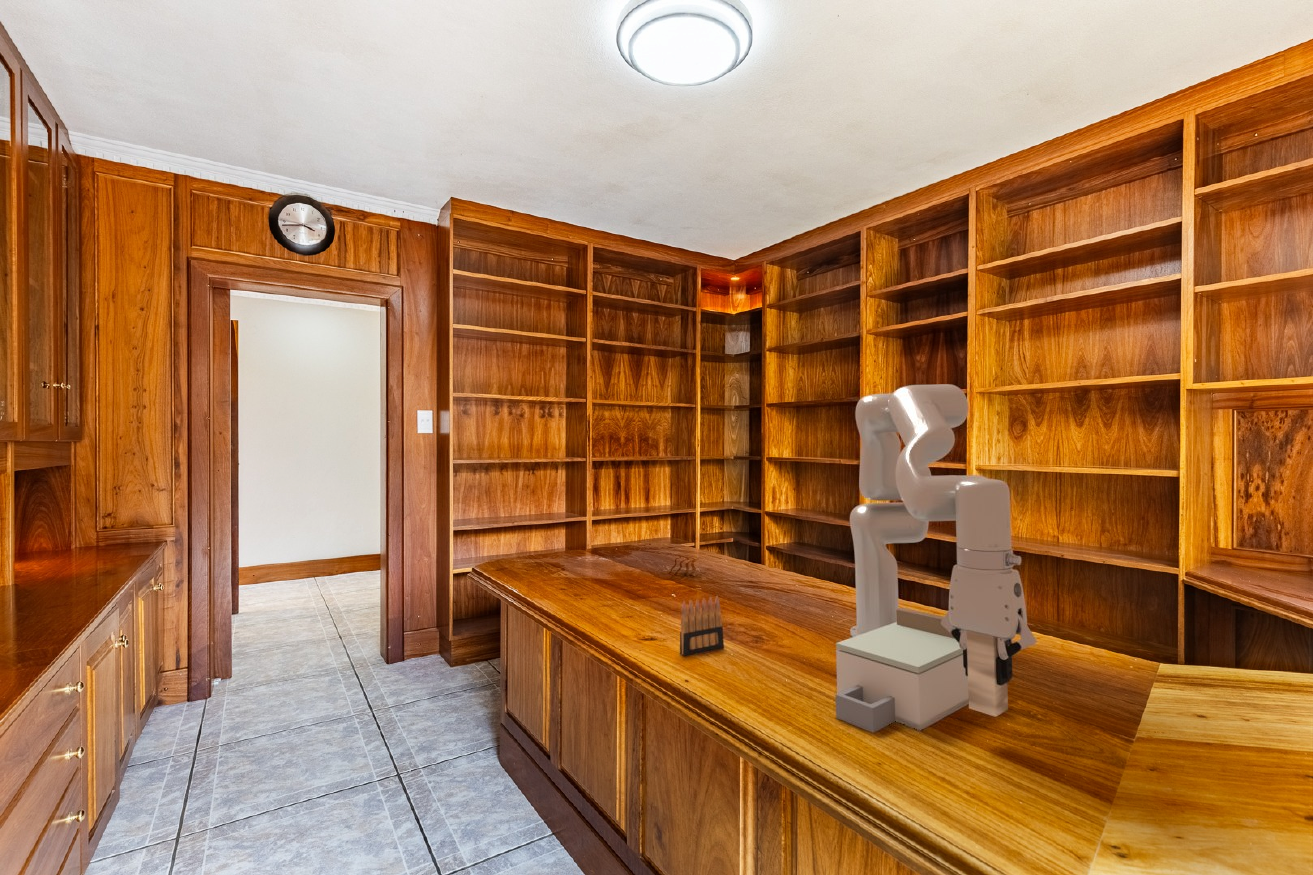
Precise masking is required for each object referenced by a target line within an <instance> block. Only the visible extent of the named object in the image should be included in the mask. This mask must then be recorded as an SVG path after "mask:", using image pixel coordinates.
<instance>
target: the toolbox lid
mask: <svg viewBox="0 0 1313 875" xmlns="http://www.w3.org/2000/svg"><path fill="white" fill-rule="evenodd" d="M896 614H897V622H895V623H892V624H889V625H887V626H884V627H881V628H878V629H875V630H872V631H869V632H866V633H864V634H861V635H858V636H855V637H852V636H851V637H850V638H847V639H843V640H841V641H839V642H836V643H835V650H838V649H839V650H842V651H846V652H849V653H852V654H856V655H859V656H862V657H866V658H869V659H872V660H876V661H879V662H882V663H886V664H889V665H892V666H896V667H899V668H902V669H906V670H909V671H912V672H916V673H920V672H922V671H925V670H927V669H929V668H931V667H934V666H936V665H938V664H940V663H942V662H945V661H947V660H949V659H951V658H953V657H956V656H958V655H960V654H962V653H963V649H961V648H960V647H959V643H958V642H957V640H956V639H955V638H954V637H953V636H952V634H951V632H949V631H948V630H947V629H945V628H944V627H943V626H942V625H941V621H942V619H943V618H944V617H945V616H943V615H938V614H933V613H929V612H924V611H919V610H915V609H909V608H905V607H900V608H899V609H896Z"/></svg>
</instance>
